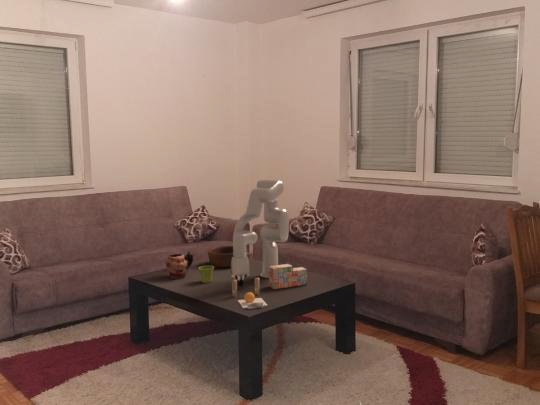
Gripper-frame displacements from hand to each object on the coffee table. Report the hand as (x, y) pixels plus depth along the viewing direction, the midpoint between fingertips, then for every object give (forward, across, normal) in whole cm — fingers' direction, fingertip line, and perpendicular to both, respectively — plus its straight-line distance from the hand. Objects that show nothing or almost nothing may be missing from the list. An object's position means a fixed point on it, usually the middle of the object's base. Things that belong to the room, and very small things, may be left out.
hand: (240, 286), depth 315 cm
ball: (-1, +1, +26) cm, 26 cm away
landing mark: (+2, 0, +27) cm, 27 cm away
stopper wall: (+2, 0, +35) cm, 35 cm away
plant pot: (+2, +16, -22) cm, 27 cm away
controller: (+2, +24, -60) cm, 65 cm away
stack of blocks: (+2, -28, +2) cm, 28 cm away
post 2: (+2, -6, +13) cm, 15 cm away
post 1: (+2, +6, +13) cm, 15 cm away
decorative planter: (+2, +32, -40) cm, 51 cm away
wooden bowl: (+2, -4, -60) cm, 60 cm away
